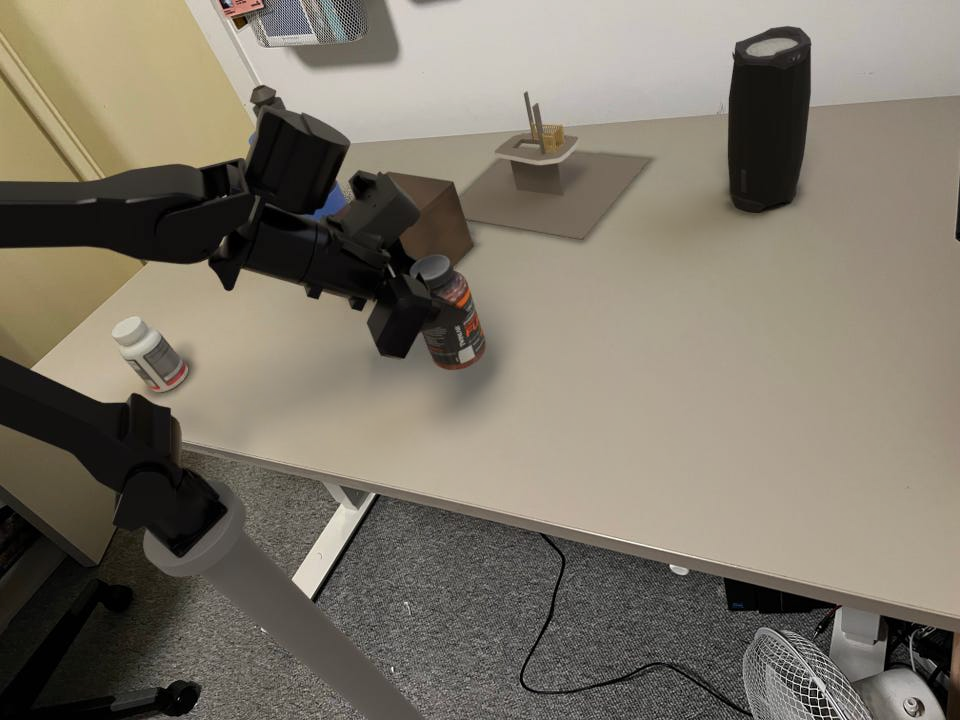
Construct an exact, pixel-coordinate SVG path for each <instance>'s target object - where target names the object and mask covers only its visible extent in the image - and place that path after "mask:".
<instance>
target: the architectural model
mask: <svg viewBox="0 0 960 720" xmlns="http://www.w3.org/2000/svg"><path fill="white" fill-rule="evenodd" d="M523 97H524V102H525V103H524V104H525V108H526V113H527V117H528V122H529V127H530V132H527V133H520V134H515V135H513V136H511V137H510V138H509V139H507V140H506V141H505V142H503V143H502V144H501V145H499V146H498V147H497V148H496V149H494V155H495V157H496V158H499V159H500V160H499V161H498V162H497V163H496V164H495V165H494V166H492V168H491V169H489V171H487V172H486V173H485V175H483V176H482V177H481V178H480V179H479V180H478V181H477V182H476V183H475V184H474V185H473V186H472V187H471V188H469V189H468V191H466V193H464V194H463V195H462V196H461V197H460V198H459V201H460V204H461V207H462V210H463V214H464V217H465V220H468V221H474V222H480V223H486V224H491V225H497V226H503V227H509V228H514V229H520V230H525V231H526V230H527V231H532V232H538V233H543V234H550V235H555V236H561V237H566V238H567V237H568V238H573V239H578V240H583V239H585V237H586V236H587V235H588V233H590V231H592V229H593V227H595V225H596V224H597V223H598V222H599V220H601V218H602V217H603V216H604V214H605V213H607V211H608V209H609V208H610V207H612V205H613V204H614V203H615V202H616V201H617V199H618V198H619V196H620V195H621V194H622V193H623V192H624V191H625V189H626V188H627V187H628V186H629V184H631V182H632V181H634V179H635V178H636V177H637V175H638V174H639V172H641V170H642V169H643V168H644V167H645V166H646V165H647V163H648V162H649V159H644V158H633V157H622V156H620V157H619V156H611V155H599V154H587V153H577V152H576V153H575V152H574V151H575V150H576V149H577V147H578V146H579V144H580V139H579V136H573V135H566V134H564V125H563V124H546V123H543V121H542V115H541V111H540V110H541V109H540V105H539V102H535V104H533V105H532V106H531V102H530V97H529V92H528V91H525V92H524V93H523ZM523 144H525V145H537V146H538V145H539V148H538V149H534V148H533V149H531V148H519V147H520V146H521V145H523Z"/></svg>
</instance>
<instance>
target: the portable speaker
mask: <svg viewBox="0 0 960 720" xmlns="http://www.w3.org/2000/svg"><path fill="white" fill-rule="evenodd" d="M734 45H735V46H734V51H732V52H731V53H732V59H733V64H732V72H731V79H730V86H729V94H728V110H727V111H728V113H727V114H728V115H727V116H728V117H727V119H728V121H727V168H728V183H729V184H728V185H729V193H730V195H731V198H732V202H733V204H734V207H735V208H737V209H740V210H741V211H745V212H750V213H760V212H761V211H762V210H763V209H764V208H766V207H770V206H773V205H777V204H781V203H784V204H791V203H792V202H793V200H794V199H795V196H796V195H797V186H798V183H799V179H800V175H801V172H802V166H803V161H804V156H805V149H806V142H807V132H808V123H809V114H810V105H811V96H812V95H811V94H812V45H813V44H812V41H811V37H810V36H808V34H807V33H806V32H805V31H804V30H803V29H802V28H801V27H799V26H790V25H785V26H776V27H771V28H768V29H767V30H764V31H763V32H761V33H758V34H755V35H753V36H751V37H747V38H746V39H743V40H740V41H736V42H735V44H734Z"/></svg>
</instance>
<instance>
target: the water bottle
mask: <svg viewBox="0 0 960 720" xmlns="http://www.w3.org/2000/svg"><path fill="white" fill-rule="evenodd" d="M249 103H251V104H252V105H254V106H253V107H252V111H253V113H254V115H255V118H256V119H257V118H258V115H259V112H260V109H261V106H263V105H267V106H270V107H272V108H274V109H277V110H282V109H283V110H287V107H286V105H285V104H284V101H283V99H282V97H280V96H277V90H276V89H274V88H272V87H270V86H268V85H265V84H259V85H258V86H255V87H254V88H253V89H252V92H251V95H250V98H249ZM254 135H255V131H253V133H252V134H251V135H250V136H249V138H248V144H249V147H250V146H251V143H252V140H253V137H254ZM347 204H348V202H347V199H346V197H345V195H344V193H343V191H342V188H341V187H340V184H339V182H338V180H337V179H336V180H335V182H334V184H333V187H332V189H331V192H330V194H329V196H328V199H327V201H326V203H325V206H324V207H323V208H322V209H318V210H316V211H315V213H314V215H307V214H306V215H302V216H305V217H308V218H311V219H314V220H317V221H320V220H321V217H322V215H325V216H327V215H328V214H332V215H334V214H335V213H337V212H338V211H339V210H340V209H342V208H343V207H344V206H345V205H347Z"/></svg>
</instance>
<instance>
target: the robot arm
mask: <svg viewBox="0 0 960 720" xmlns="http://www.w3.org/2000/svg"><path fill="white" fill-rule="evenodd" d="M254 132H255V135H254V137H253V140H252V143H251V146H250V145H249V149H248V151H247V155H246V157H245V158H243V157H238V158H234V159H230V160H225V161H222V162H216V163H213V164H208V165H205V166H201V167H195V166H192V165H188V164H183V163H169V164H161V165H156V166H155V165H154V166H147V167H140V168H133V169H128V170H126V171H122V172H119V173H116V174H113V175H110V176H106V177H104V178H99V179H94V180H86V181H40V180H39V181H37V180H36V181H35V180H33V181H29V180H28V181H27V180H26V181H25V180H0V250H4V249H5V250H6V249H7V250H8V249H48V248H49V249H50V248H51V249H52V248H53V249H54V248H93V249H101V250H108V251H111V252H114V253H117V254H119V255H122V256H125V257H128V258H131V259H133V260H137V261H145V262H146V261H147V262H155V263H162V264H163V263H164V264H174V265H184V266H185V265H186V266H187V265H194V264H200V263H202V262H205V261H207V265H208V267H209V268H210V269H211V270H212V271H213V272H214V273H215V274H216V276H217V277H218V279H219V281H220V283H221V285H222V287H223V290H225V291H226V292H231V291H233V290H234V289H235V286H236V283H237V281H238V277H239V276H240V273H241V270H244V271H248V272H250V273H251V272H252V273H255V274H258V275H261V276H265V277H269V278H273V279H276V280H279V281H282V282H285V283H286V282H287V283H289V284H293V285H297V286H300V287H304V288H303V289H304V291H305V296H306V297H307V298H309V299H314V300H317V301H319V300H320V297H321V295H322V293H325V294H328V295H332V296H335V297H339V298H341V299H342V298H343V299H346V300H347V302H348V304H349V306H350V309H351V310H353V311H354V310H355V311H357V312H363V310H364V308H365V306H366V304H367V303H368V301H372V303H373V304H374V306H373V308H372V310H371V312H370V314H369V316H368V319H367V320H366V325H367V328H368V330H369V332H370V335H371V337H372V340H373V343H374V345H375V348H376V349H377V351H378V353H379V355H380V357H384V358H388V359H392V360H396V361H403V360H406V358H407V356H408V354H409V352H410V350H411V349H412V346H413V345H414V343H415V341H416V339H417V337H418V335H419V334H420V333H422V332H423V331H426V330H430V329H434V328H438V327H442V326H447V325H451V324H455V323H459V322H463V321H464V320H465V319H466V317H467V316H468V311H467V310H466V309H464V308H462V307H460V306H458V305H457V304H455V303H453V302H450V301H448V300H446V299H444V298H442V297H440V296H438V295H436V294H434V293H432V292H430V290H429V287H428V285H427V284H426V282H425V280H424V278H423V277H422V275H421V273H420V272H418V274H417V276H416V278H413V277H411V276H410V269H411V267H412V266H413V264H415V263H416V262H417V261H418V260H419V259H418V258H416V257H415V256H414V255H412V254H411V253H409V252H408V251H407V250H405V249H404V248H403V246H402V243H401V240H400V238H399V237H400V236H401V235H402V234H403V233H404V232H405V231H406V230H407V229H408V228H409V227H412V226H414V225H415V224H416V223H417V221H418V220H419V218H420V216H421V210H420V209H419V207H418V206H417V205H416V204H415V202H414V201H413V199H412V197H411V196H410V195H409V194H408V193H407V192H406V191H405V190H403V189H402V188H401V187H400V186H399V185H398V184H397V183H396V182H395V181H394V180H393V179H392V177H391V176H390V175H388V174H385V173H384V172H382V171H381V170H379V171H378V172H377V173H376V174H375V173H372V172H368V171H364V170H361V169H357V171H355V173H354V174H353V175H352V176H351V177H350V178H349V180H348V184H349V187H350V190H351V192H352V194H353V197H354V198H355V200H356V201H355V202H353V201H352V200H350V201H351V202H350V201H349V202H350V203H349V202H348V203H349V205H350V207H351V208H350V209H349V211H348V212H347V213H346V214H345V215H344V216H343V218H342V217H338V216H335V215H332V214H328V215H327V216H325V215H322V217H321V220H320V221H317V220H314V219H311V218H308V217H305V216H302V215H306V214H307V215H314V213H315V211H316V210H318V209H322V208H323V207H324V206H325V203H326V201H327V199H328V196H329V194H330V192H331V189H332V187H333V184H334V182H335V180H337V178H338V175H339V173H340V171H341V167H342V166H343V163H344V161H345V159H346V156H347V153H348V152H349V149H350V147H351V143H352V142H351V141H350V139H349V138H348V137H347V136H346V135H345V134H343V133H342V132H340V131H339V130H338V129H336V128H335V127H333V126H331V125H330V124H328V123H326V122H325V121H323V120H320V119H319V118H317V117H315V116H313V115H311V114H308V113H306V112H301V113H298V112H296V111H292V110H288V109H286V110H283V109H282V110H277V109H274V108H272V107H270V106H267V105H263V106H261V109H260V112H259V115H258V118H257V117H256V123H255V131H254ZM0 426H2V427H5V428H7V429H9V430H13V431H15V432H17V433H20V434H22V435H24V436H27V437H30V438H32V439H35V440H37V441H40V442H42V443H45V444H47V445H50V446H52V447H55V448H58V449H60V450H63V451H65V452H67V453H69V454H70V455H72V456H73V457H74V458H75V459H76V460H77V461H78V462H79V463H80V464H81V466H82V467H83V468H84V469H85V470H86V472H88V473H89V475H90V476H91V477H92V478H93V479H94V480H95V481H96V482H97V483H98V484H100V485H102V486H104V487H106V488H108V490H109V489H110V490H111V491H113V492H114V500H113V501H114V503H113V511H112V522H111V523H112V525H113V526H115V527H117V528H119V529H123V530H125V531H127V532H136V531H137V530H139V529H141V528H145V530H146V529H147V530H148V531H149V532H150V533H151V534H152V535H153V536H154V537H155V538H156V539H157V540H158V541H160V542H161V543H162V544H163V545H164V546H165V547H166V548H167V549H168V550H169V551H171V552H172V553H173V554H174V555H175V556H176V557H177V558H182V557H184V556H185V555H186V554H187V553H188V552H189V551H190V550H191V549H192V548H193V547H194V546H195V545H196V544H197V543H198V542H199V541H200V540H201V539H202V538H203V537H204V536H205V535H206V534H207V533H208V532H209V531H210V530H211V529H212V528H213V527H214V526H215V525H216V524H217V523H218V522H219V521H220V519H221V518H222V517H223V516H224V515H225V514H226V513H227V512H228V508H227V507H226V506H225V505H223V504H222V503H221V502H219V501H218V499H219V498H220V495H219V494H218V493H217V492H216V491H215V490H214V489H213V488H212V487H211V486H210V485H209V484H208V483H207V482H206V481H207V480H206V479H205V478H204V477H203V476H202V475H201V474H199V473H198V472H197V471H196V470H194V469H192V468H191V467H190V466H185V467H184V466H183V432H182V427H181V425H180V421H179V420H178V419H177V418H176V417H175V416H174V415H172V408H171V407H169V406H165V405H159V404H156V403H154V402H152V401H151V400H149V399H148V398H147V397H145V396H143V395H142V394H140V393H137V392H132V393H130V395H129V397H127V399H126V400H125V401H119V402H117V401H116V402H103V401H100V400H97V399H94V398H93V397H91V396H88V395H86V394H84V393H82V392H79V391H77V390H75V389H74V388H71V387H69V386H67V385H64V384H63V383H60V382H59V381H56V380H54V379H52V378H50V377H48V376H46V375H43V374H41V373H39V372H37V371H35V370H33V369H30V368H29V367H27V366H24V365H22V364H20V363H17V362H16V361H14V360H12V359H9V358H7V357H5V356H3V355H0Z"/></svg>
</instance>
